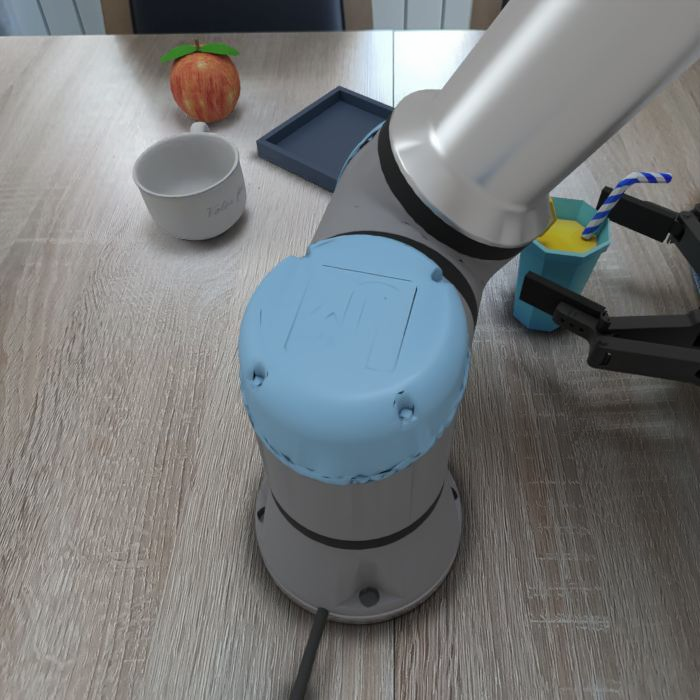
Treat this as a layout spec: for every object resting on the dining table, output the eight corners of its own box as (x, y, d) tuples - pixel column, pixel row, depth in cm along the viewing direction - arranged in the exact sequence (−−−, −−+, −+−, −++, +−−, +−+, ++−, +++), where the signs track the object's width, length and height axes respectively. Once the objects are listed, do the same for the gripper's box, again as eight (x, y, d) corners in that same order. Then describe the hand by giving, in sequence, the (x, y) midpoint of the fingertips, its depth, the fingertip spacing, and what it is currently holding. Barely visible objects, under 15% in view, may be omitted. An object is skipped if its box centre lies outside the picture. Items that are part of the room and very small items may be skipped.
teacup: (233, 260, 68) (219, 198, 62) (135, 248, 69) (112, 186, 63) (270, 179, 76) (261, 117, 70) (182, 170, 78) (166, 108, 72)
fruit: (243, 133, 82) (229, 56, 75) (168, 134, 83) (147, 57, 75) (251, 96, 88) (239, 21, 80) (180, 97, 88) (162, 22, 80)
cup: (601, 271, 66) (651, 139, 54) (636, 328, 61) (699, 198, 49) (466, 291, 64) (487, 161, 53) (491, 351, 59) (520, 223, 48)
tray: (372, 212, 72) (372, 197, 71) (257, 155, 79) (255, 140, 78) (451, 146, 80) (452, 130, 78) (339, 100, 87) (339, 85, 85)
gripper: (748, 508, 44) (480, 357, 53) (847, 296, 56) (615, 201, 65) (805, 452, 39) (493, 292, 47) (902, 229, 50) (639, 134, 59)
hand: (563, 239), depth 56 cm, fingers open, 13 cm apart
